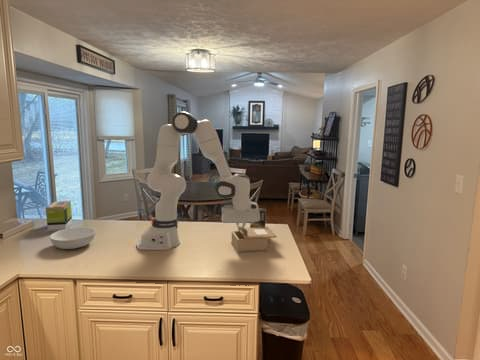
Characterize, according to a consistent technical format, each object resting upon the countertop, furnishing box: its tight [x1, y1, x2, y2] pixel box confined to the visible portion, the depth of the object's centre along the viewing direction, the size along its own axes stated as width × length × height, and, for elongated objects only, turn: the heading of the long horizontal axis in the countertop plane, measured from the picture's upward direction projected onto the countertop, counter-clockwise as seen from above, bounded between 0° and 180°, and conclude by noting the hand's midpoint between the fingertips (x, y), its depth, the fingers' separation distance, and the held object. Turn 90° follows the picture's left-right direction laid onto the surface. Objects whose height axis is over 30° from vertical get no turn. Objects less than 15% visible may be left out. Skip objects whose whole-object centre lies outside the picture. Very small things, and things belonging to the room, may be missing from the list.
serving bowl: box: [49, 226, 96, 250], centre depth 163 cm, size 21×21×7 cm
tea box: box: [45, 200, 73, 232], centre depth 191 cm, size 15×10×15 cm, turn 14°
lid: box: [239, 226, 278, 239], centre depth 168 cm, size 17×15×3 cm
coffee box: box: [249, 207, 267, 228], centre depth 186 cm, size 9×6×16 cm
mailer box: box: [231, 230, 269, 254], centre depth 168 cm, size 16×14×7 cm
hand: (240, 230), depth 166 cm, fingers closed
